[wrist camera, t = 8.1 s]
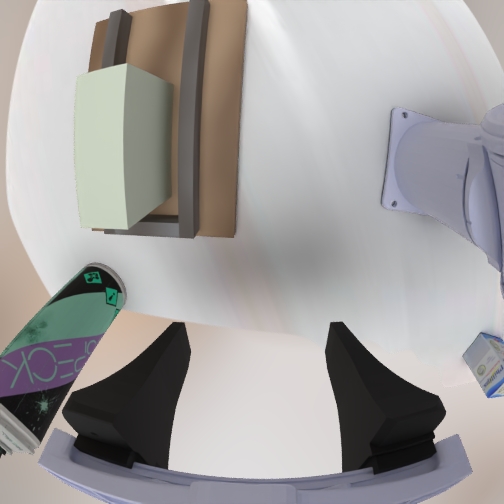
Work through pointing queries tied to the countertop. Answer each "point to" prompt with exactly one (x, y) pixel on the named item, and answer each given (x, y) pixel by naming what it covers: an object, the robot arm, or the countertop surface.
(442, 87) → the countertop surface
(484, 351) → the medicine box
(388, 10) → the countertop surface
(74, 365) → the spray can
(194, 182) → the door track
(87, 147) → the pale green block
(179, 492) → the robot arm
